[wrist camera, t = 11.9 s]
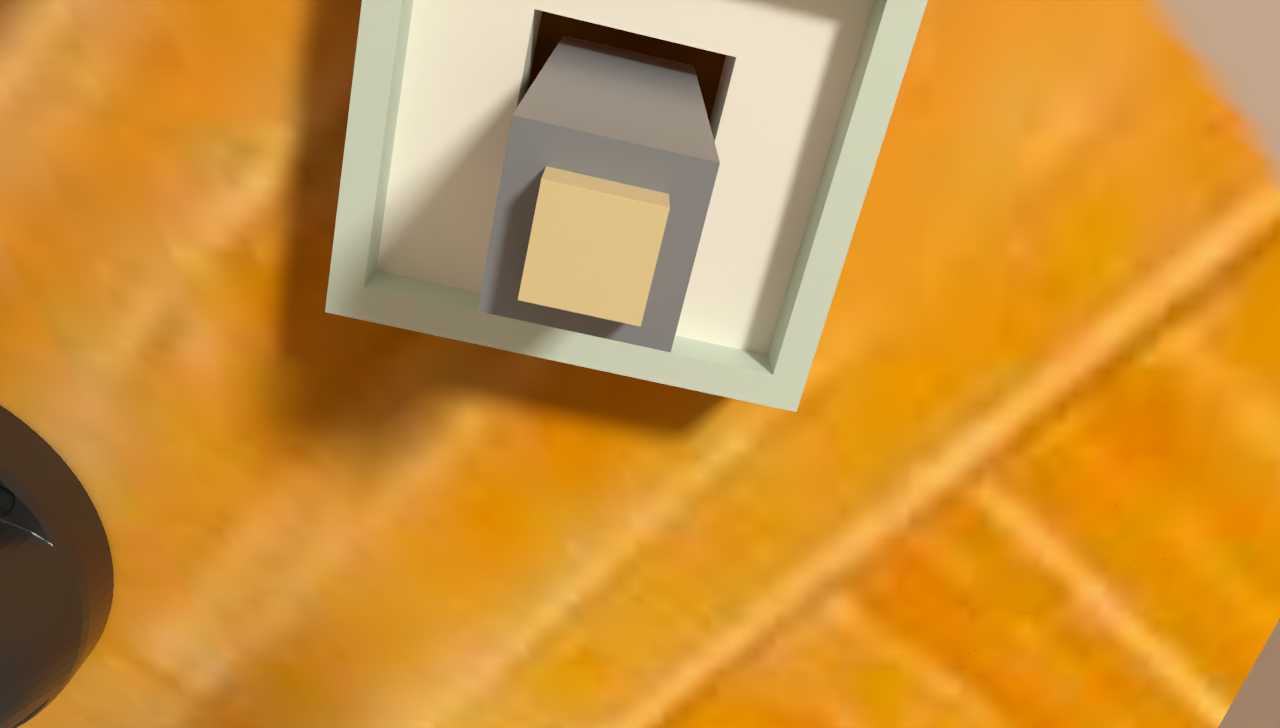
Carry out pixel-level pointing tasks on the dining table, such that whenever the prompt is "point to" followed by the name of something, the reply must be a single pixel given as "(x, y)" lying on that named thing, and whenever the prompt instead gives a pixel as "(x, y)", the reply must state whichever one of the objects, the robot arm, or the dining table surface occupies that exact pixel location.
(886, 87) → the walled box
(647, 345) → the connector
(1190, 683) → the dining table surface
